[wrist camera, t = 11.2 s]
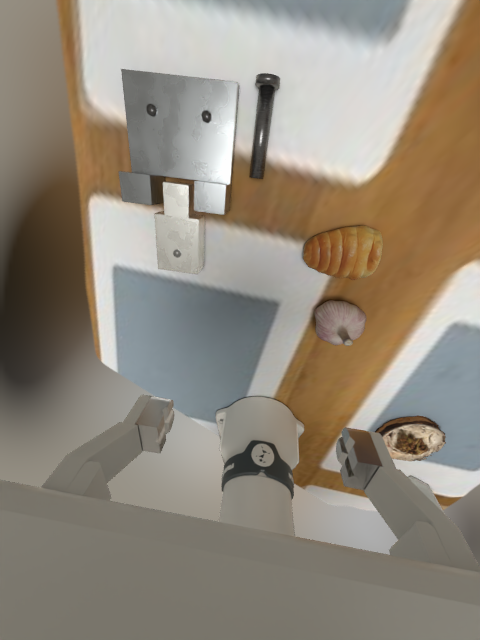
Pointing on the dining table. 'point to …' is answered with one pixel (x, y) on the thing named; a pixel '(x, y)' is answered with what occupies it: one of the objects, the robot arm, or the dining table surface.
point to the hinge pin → (263, 121)
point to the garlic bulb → (339, 322)
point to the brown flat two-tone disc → (412, 438)
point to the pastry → (345, 252)
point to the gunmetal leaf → (179, 137)
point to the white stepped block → (179, 230)
